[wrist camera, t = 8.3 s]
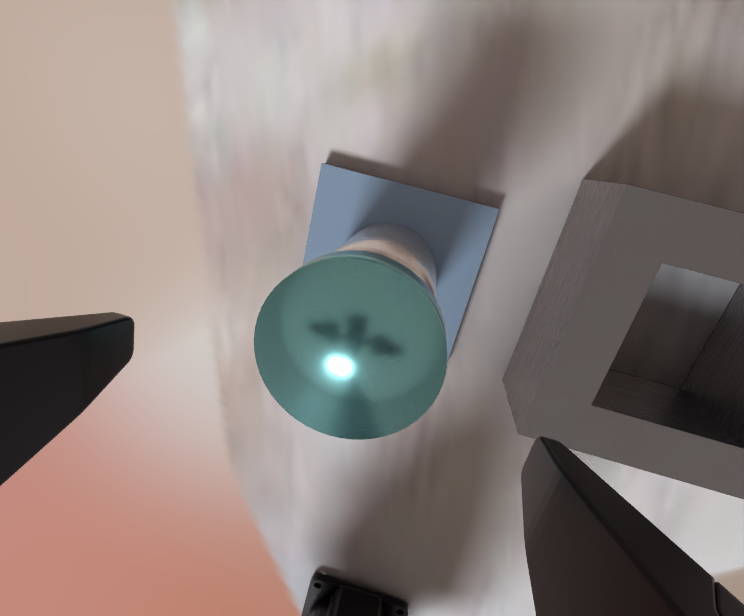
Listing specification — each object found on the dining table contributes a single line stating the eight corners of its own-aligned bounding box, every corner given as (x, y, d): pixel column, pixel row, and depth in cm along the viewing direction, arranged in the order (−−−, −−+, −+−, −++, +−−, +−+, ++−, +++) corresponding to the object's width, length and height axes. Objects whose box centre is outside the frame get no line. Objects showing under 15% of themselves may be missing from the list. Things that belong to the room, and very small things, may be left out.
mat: (444, 363, 22) (445, 369, 21) (295, 321, 22) (291, 325, 21) (497, 207, 19) (499, 209, 18) (325, 163, 19) (321, 163, 19)
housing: (702, 437, 21) (769, 506, 17) (502, 380, 21) (518, 433, 17) (826, 240, 17) (950, 265, 13) (582, 179, 18) (627, 184, 14)
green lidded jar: (425, 336, 21) (416, 461, 12) (322, 307, 21) (242, 409, 12) (457, 232, 19) (474, 291, 10) (345, 203, 19) (269, 235, 10)
